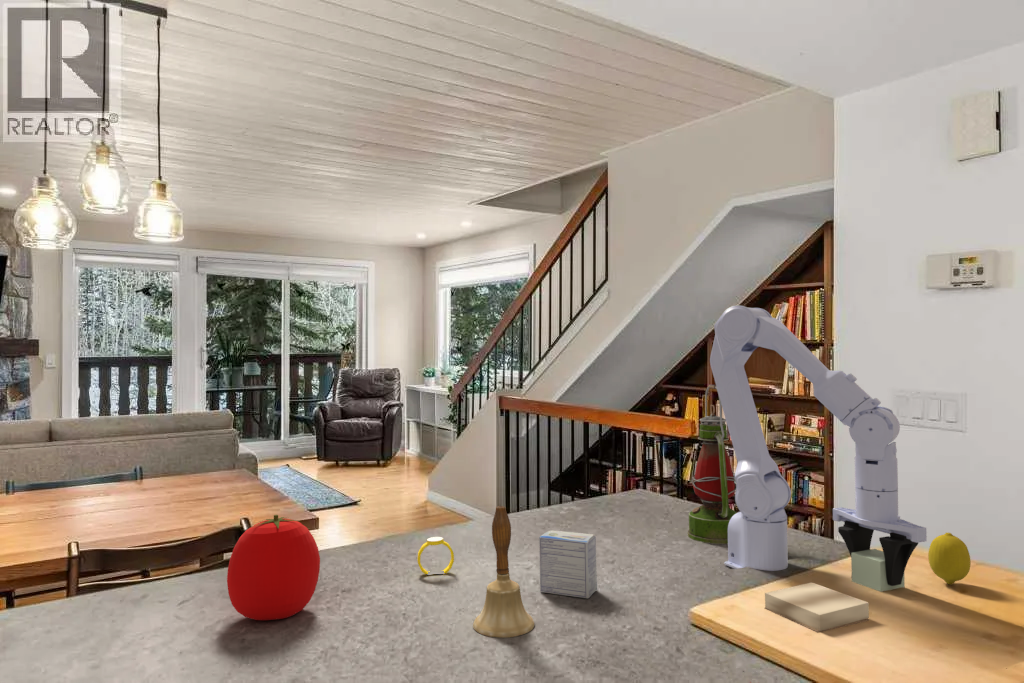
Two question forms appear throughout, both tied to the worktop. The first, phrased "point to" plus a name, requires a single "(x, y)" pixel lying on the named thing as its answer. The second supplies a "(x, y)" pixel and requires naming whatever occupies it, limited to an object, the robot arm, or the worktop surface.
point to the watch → (435, 542)
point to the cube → (871, 570)
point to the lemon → (949, 558)
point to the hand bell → (503, 590)
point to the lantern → (712, 482)
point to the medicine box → (568, 563)
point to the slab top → (817, 606)
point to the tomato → (273, 569)
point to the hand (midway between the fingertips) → (877, 578)
